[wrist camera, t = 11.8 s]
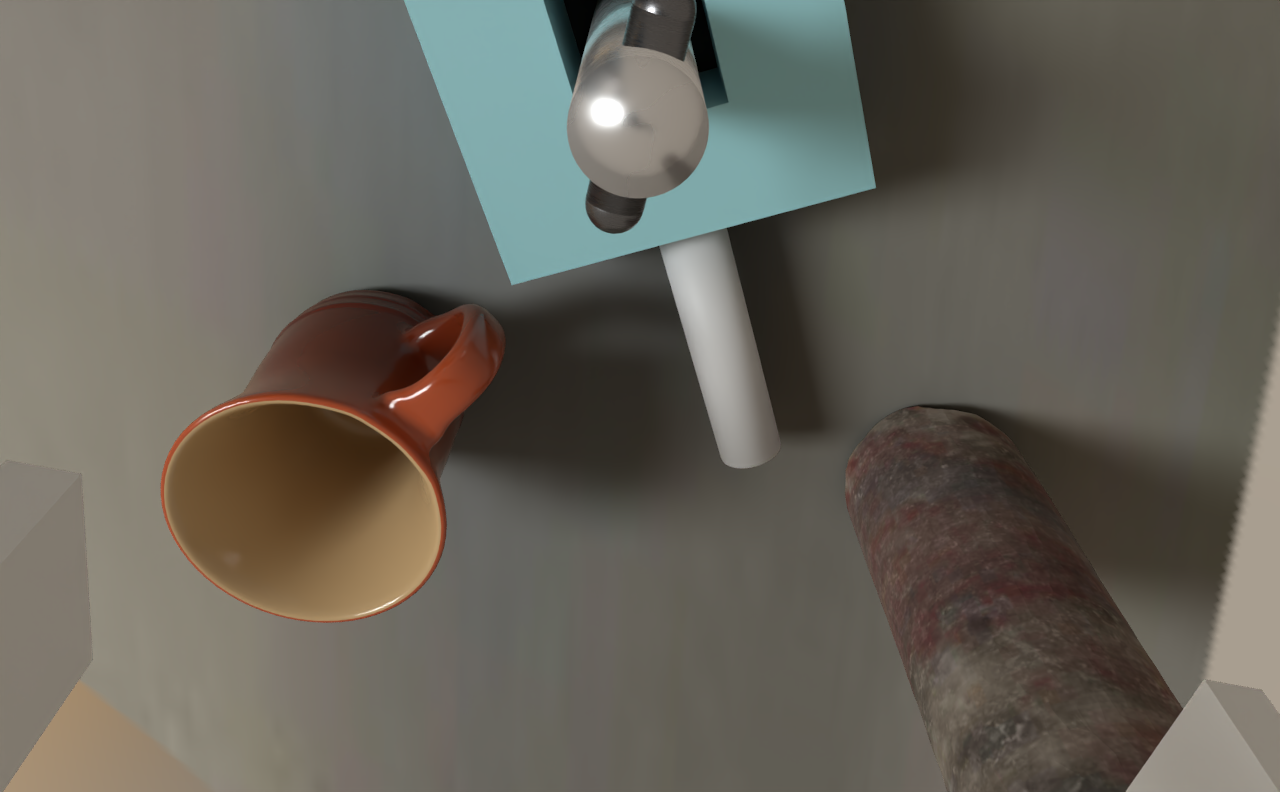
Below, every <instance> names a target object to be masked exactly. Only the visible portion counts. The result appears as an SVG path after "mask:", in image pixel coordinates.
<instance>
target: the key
mask: <svg viewBox="0 0 1280 792" xmlns="http://www.w3.org/2000/svg"><path fill="white" fill-rule="evenodd" d="M695 19H696V2H695V0H597V3H596V7H595V11H594V15H593V19H592V22H591V26H590V30H589V34H588V38H587V42H586V46H585V49H584V53H583V57H582V61H581V65H580V69H579V73H578V77H577V80H576V84H575V88H574V92H573V96H572V100H571V104H570V108H569V111H568V118H567V136H568V142H569V146H570V150H571V152H572V155H573V157H574V159H575V161H576V163H577V165H578V166H579V168H580V169H581V170H582V172H583V173H584V174H585V175H586V176H587V177H588V178H589V179H590V181H589V185H588V189H587V193H586V198H585V208H586V212H587V215H588V217H589V219H590V221H591V222H592V223H593V224H594V226H595V227H597V228H598V229H600V230H601V231H603V232H606V233H611V234H618V233H623V232H626V231H628V230H630V229H632V228H633V227H634V226H635V225H636V224H637V223H638V222H639V220H640V219H641V217H642V214H643V212H644V208H645V204H646V201H647V198H649V197H654V196H658V195H661V194H664V193H666V192H668V191H670V190H672V189H674V188H676V187H677V186H679V185H680V184H682V183H683V182H684V181H685V180H686V179H687V178H688V177H689V176H690V175H691V174H692V173H693V172H694V170H695V169H696V167H697V166H698V165H699V163H700V161H701V159H702V157H703V155H704V152H705V149H706V146H707V141H708V135H709V119H708V113H707V108H706V104H705V99H704V95H703V91H702V87H701V82H700V78H699V74H698V69H697V65H696V61H695V57H694V52H693V48H692V44H691V39H690V38H691V34H692V31H693V27H694V23H695Z"/></svg>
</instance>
